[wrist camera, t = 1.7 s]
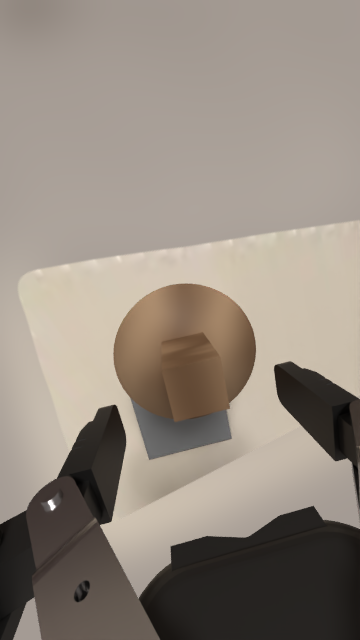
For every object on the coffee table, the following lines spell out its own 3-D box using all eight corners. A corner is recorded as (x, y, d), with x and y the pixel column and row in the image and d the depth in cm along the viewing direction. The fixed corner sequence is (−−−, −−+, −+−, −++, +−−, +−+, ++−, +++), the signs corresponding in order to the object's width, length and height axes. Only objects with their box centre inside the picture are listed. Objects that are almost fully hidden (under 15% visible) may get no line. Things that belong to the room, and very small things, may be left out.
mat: (216, 360, 29) (216, 361, 28) (230, 436, 31) (231, 438, 31) (126, 382, 28) (126, 383, 28) (149, 457, 31) (149, 459, 30)
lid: (241, 269, 16) (282, 267, 11) (259, 396, 19) (301, 448, 13) (98, 301, 16) (63, 316, 10) (135, 426, 18) (124, 493, 13)
